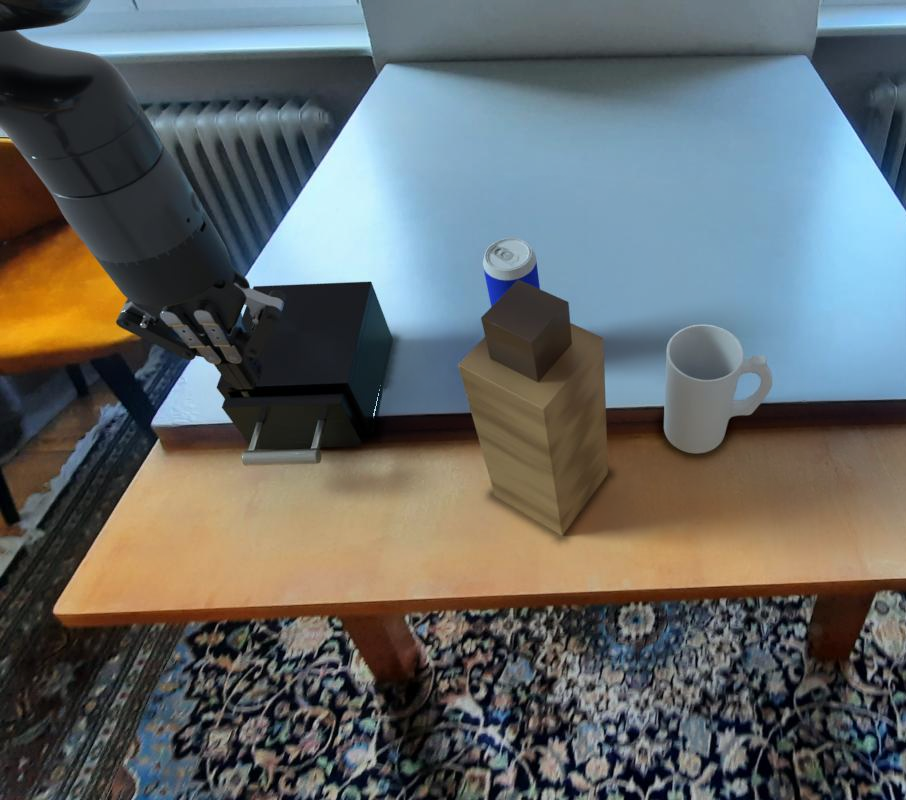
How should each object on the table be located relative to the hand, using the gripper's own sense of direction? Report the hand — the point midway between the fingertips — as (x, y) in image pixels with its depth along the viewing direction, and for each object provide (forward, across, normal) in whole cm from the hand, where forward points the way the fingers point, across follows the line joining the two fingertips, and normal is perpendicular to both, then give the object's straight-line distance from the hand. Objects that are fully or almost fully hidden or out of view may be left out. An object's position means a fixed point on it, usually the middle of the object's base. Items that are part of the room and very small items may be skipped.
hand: (249, 381), depth 63 cm
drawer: (+13, 0, +6) cm, 15 cm away
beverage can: (+15, +22, +14) cm, 30 cm away
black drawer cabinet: (+14, 0, +10) cm, 18 cm away
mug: (+15, +41, +3) cm, 44 cm away
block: (-6, +25, -3) cm, 26 cm away
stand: (+14, +25, -3) cm, 29 cm away
